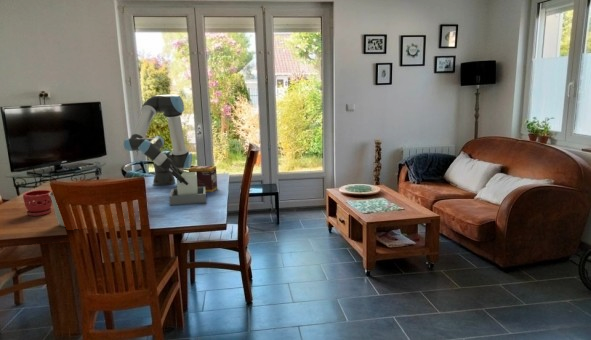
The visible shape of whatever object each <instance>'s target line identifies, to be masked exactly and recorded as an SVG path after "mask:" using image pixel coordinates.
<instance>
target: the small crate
mask: <svg viewBox="0 0 591 340" xmlns="http://www.w3.org/2000/svg"><path fill="white" fill-rule="evenodd" d="M181 176H182V177H183V178H184V179H186V180H187V181H188V182H190V183H191V184H192V185H193V188H192V189H191V190H190V189H189V188H188V187H187V186H186V185H184V184H183V183H180V181H179V180H178V179H176V189H177V190H178V195H191V194H197V193H198V188H197V172H189V171H188V172H186V171H185V172H184V173H182V174H181Z"/></svg>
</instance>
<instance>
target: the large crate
mask: <svg viewBox="0 0 591 340" xmlns="http://www.w3.org/2000/svg"><path fill="white" fill-rule="evenodd" d="M197 188H198V193H197V194H191V195H178V190H177V188H171V190H170V194H169V196H168V199H169V206H170V207H171V206H186V205H198V204H206V203H207V192H206V190H205V187H197Z"/></svg>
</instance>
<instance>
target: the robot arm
mask: <svg viewBox="0 0 591 340" xmlns="http://www.w3.org/2000/svg"><path fill="white" fill-rule="evenodd" d="M184 111H185V106H184V101H183V98H182V97H181V95H179V94H155V95H153V96H150V97H149V98H148V99H147V100H146V101H145V102H143V104H142V107H141V108H140V112H141V113H140V115H139V118H138V120H137V122H136V124H135V126H134V129H133V131H132V133H131V136H130V137H128V138H125V139H124V140H123V147H124V150H125V151H128V152H139V151H140V152H141V153H142V154H143V155H144V156H145V157H146V158H148V159H149V160H151V161H152V162H153V165H154V177H153V180H152V181H153V182H152V183H153V185H154V186H159V187H161V186H170V185H174V184H175V183H176V180H177V179H178V180H179V181H180V183H183V184H184V185H186V186H187V187H188V188H189V189H190V190H191V189H192V188H193V185H192V184H191V183H190V182H188V181H187V180H186V179H184V178H183V177H182V176H181V174H182V173H185V172H184V171H182V170H187V169H188V170H189V168H191V167H192V164H193V153H192V152H191V151H190V152H189V149H188V148H187V147H186V141H185V135H184V130H183V124H182V119H181V116H182V114H183V112H184ZM158 113H159V114H160V113H162V114H163V115H164V117H165V118H166V119H167V124H168V128H169V129H168V131H169V134H170V135H169V136H170V140H171V146H172V150H164V151H162V150H161V149H162V148H163V146H164V145H165V140H164V138H163V137H162V136H160V135H155V136H153V137H146V135H147V133H148V131H149V128H150V126H151V123H152V120H153V118H154V117H155V116H156V115H157V114H158Z"/></svg>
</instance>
